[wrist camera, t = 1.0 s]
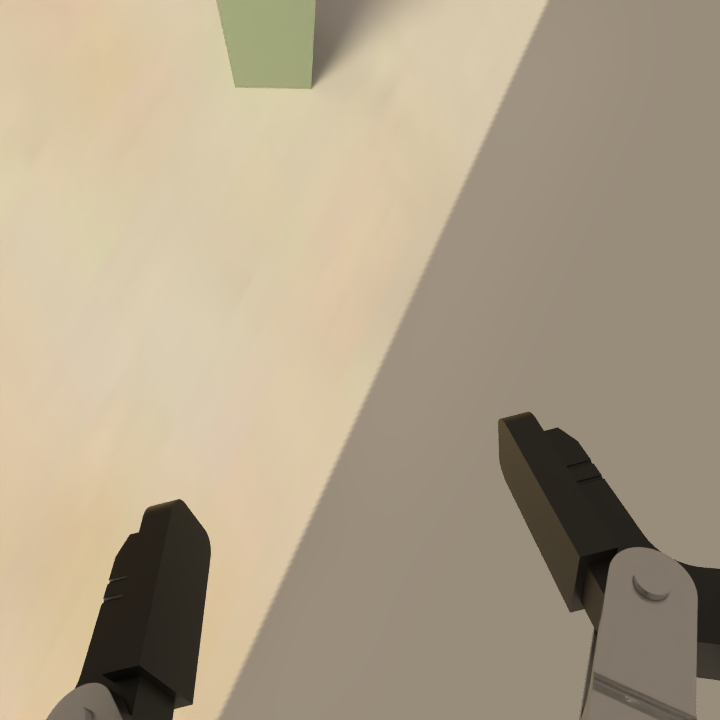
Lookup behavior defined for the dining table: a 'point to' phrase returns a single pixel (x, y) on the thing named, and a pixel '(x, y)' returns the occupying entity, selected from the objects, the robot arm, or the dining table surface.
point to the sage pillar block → (269, 42)
